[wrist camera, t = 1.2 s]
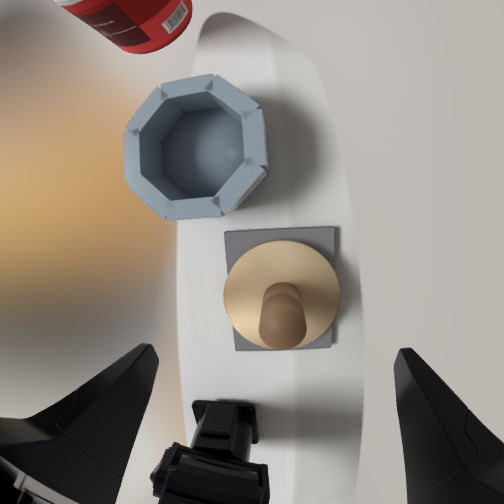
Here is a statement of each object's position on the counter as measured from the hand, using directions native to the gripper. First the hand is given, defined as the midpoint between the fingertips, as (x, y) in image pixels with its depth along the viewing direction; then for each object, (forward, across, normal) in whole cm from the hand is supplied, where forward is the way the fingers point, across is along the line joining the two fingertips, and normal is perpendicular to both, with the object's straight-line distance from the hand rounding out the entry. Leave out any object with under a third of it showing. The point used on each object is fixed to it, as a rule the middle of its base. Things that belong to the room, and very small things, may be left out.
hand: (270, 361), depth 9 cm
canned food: (+17, +10, -19) cm, 28 cm away
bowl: (+14, +6, -5) cm, 16 cm away
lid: (+11, +1, +5) cm, 12 cm away
